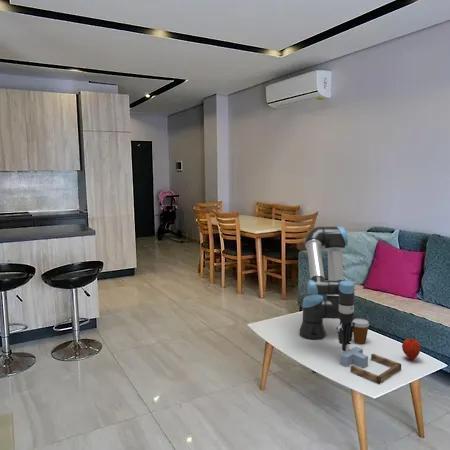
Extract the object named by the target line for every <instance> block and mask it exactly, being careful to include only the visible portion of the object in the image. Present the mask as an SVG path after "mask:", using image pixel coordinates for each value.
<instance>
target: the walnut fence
mask: <svg viewBox="0 0 450 450" xmlns="http://www.w3.org/2000/svg"><path fill="white" fill-rule="evenodd" d="M370 361H372V362H376V363H377V364H380V365H382V366H386V367H389V368H388V369H387V370H385V371H383V372H382V373H380V374H375V373H372V372H370V371H368V370H365V369H364V368H362V367H359V366H357V365H354V364H351V365H350V373H352V374H354V375H357V376H358V377H362V378H364V379H366V380H369V381H371V382H374V383H375V384H378V385H381V384H383V383H384V382H385V381H387V380H388V379H390V378H391V377H392V376H394V375H396V374H397V373H398V372H400V371H401V370H402V363H401V362H400V363H399V362H397V361H394V360H392V359H390V358H389V359H388V358H387V357H383V356H381V355H379V354H375V353H371V354H370Z"/></svg>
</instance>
